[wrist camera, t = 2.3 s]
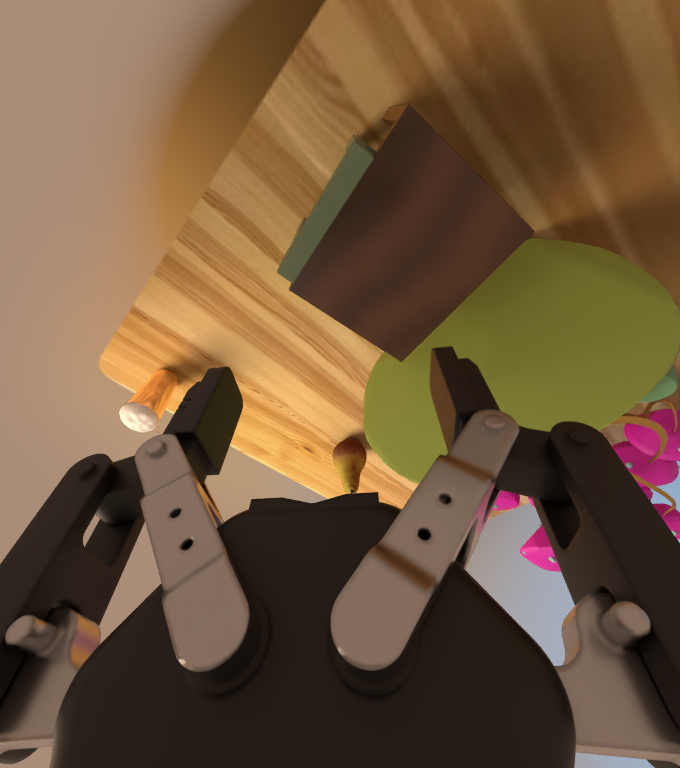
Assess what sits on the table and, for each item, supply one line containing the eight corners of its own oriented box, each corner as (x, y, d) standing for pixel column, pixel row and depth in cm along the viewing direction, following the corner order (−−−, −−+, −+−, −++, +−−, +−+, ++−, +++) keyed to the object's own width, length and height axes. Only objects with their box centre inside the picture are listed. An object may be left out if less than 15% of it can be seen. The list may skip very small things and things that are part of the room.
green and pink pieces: (955, 515, 13) (794, 618, 33) (652, 174, 29) (669, 385, 50) (339, 534, 30) (484, 594, 50) (367, 313, 46) (468, 426, 67)
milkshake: (191, 392, 50) (161, 444, 42) (153, 388, 49) (117, 439, 42) (186, 367, 47) (153, 418, 39) (146, 363, 47) (106, 413, 39)
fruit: (325, 446, 57) (321, 512, 47) (346, 427, 54) (345, 493, 44) (352, 459, 59) (352, 525, 49) (373, 441, 56) (378, 508, 46)
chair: (304, 209, 34) (276, 273, 20) (352, 128, 30) (355, 140, 16) (371, 259, 37) (384, 343, 23) (423, 192, 33) (474, 246, 19)
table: (304, 244, 36) (288, 289, 27) (389, 107, 29) (408, 103, 20) (389, 305, 40) (401, 362, 31) (482, 198, 33) (535, 231, 24)
